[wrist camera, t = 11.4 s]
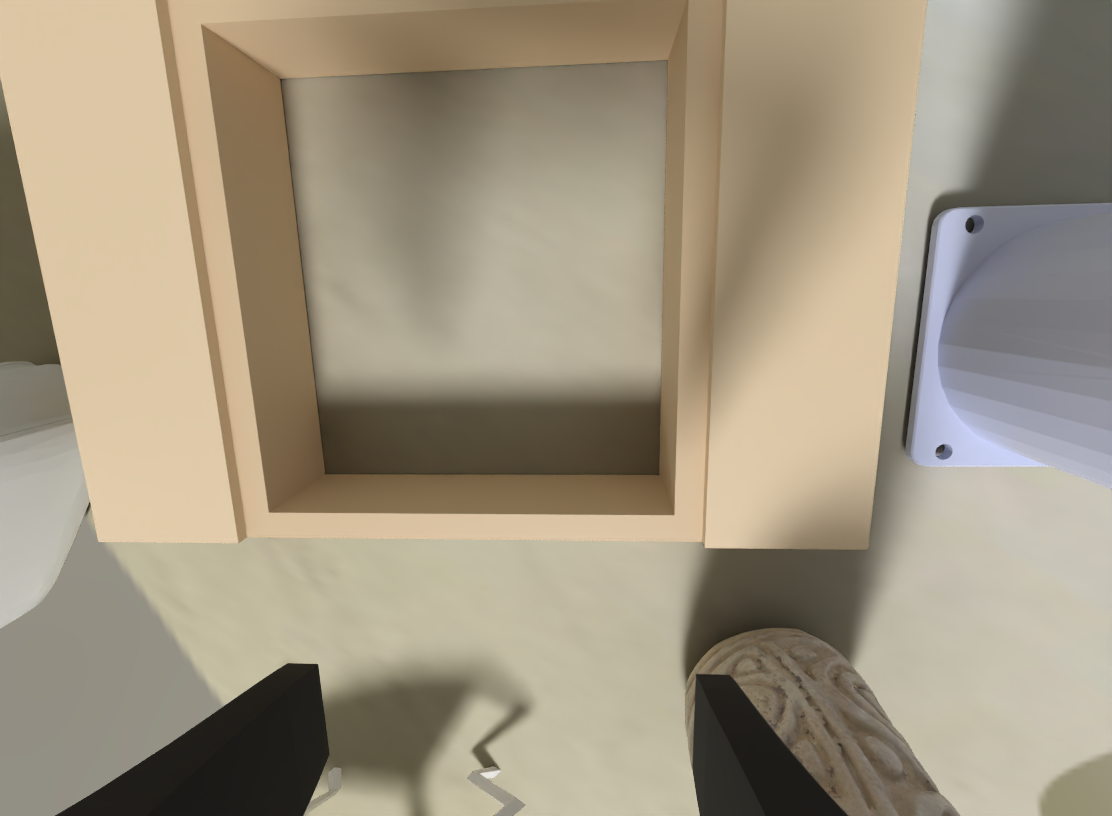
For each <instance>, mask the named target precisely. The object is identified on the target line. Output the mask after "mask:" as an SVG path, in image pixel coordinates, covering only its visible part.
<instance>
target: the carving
mask: <svg viewBox="0 0 1112 816" xmlns="http://www.w3.org/2000/svg"><path fill="white" fill-rule="evenodd" d="M696 674H719V675H730V676H731V677H732V678H733V679H734V680H735V681H736V682H737V684H738V685H739V686H740V688H741V689H742V690H743V691H744V693H745V694H746V695H747V697H748V698H749V699H750V701H751V702H752V703H753V705H754V706H755V707H756V708H757V710H758V711H759V712H760V714H761V715H762V716H763V717H764V719H765V720H766V721H767V722H768V724H769V725H770V726H771V727H772V729H773V730H774V731H775V732H776V734H777V735H778V736H779V737H780V739H781V740H782V741H783V742H784V743H785V745H786V746H787V747H788V748H789V749H790V751H791V752H792V753H793V754H794V755H795V756H796V758H797V759H798V760H799V761H800V762H801V763H802V765H803V766H804V767H805V768H806V769H807V770H808V772H809V773H810V774H811V775H812V776H813V777H814V779H815V780H816V781H817V782H818V783H819V784H820V785H821V786H822V788H823V789H824V790H825V791H826V792H827V793H828V794H829V795H830V796H831V798H832V799H833V800H834V801H835V802H836V803H837V804H838V805H839V806H840V807H841V808H842V809H843V810H844V812H845V813H846V814H847V815H848V816H960V815H959V813H958V812H957V811H956V809H955V808H954V807H953V806H952V804H951V803H950V802H949V801H948V800H947V799H946V798H945V797H944V796H942V795H941V794H940V793H939V791H938V789H937V787H936V785H935V784H934V782H933V781H932V779H931V778H930V776H929V775H928V774H927V772H926V771H925V770H924V768H923V767H922V765H921V764H920V762H919V761H918V760H917V758H916V757H915V756H914V754H913V751H912V750H911V748H910V746H909V745H908V743H907V742H906V740H905V739H904V738H903V736H902V735H901V734H900V733H899V732H898V731H897V730H896V728H894V727H893V725H892V723H891V721H890V720H889V718H888V717H887V715H886V713H885V712H884V710H883V709H882V707H881V706H880V704H879V702H878V701H877V699H876V697H875V695H874V694H873V692H872V691H871V689H870V688H869V686H868V685H867V684H866V683H865V681H864V680H863V679H862V677H861V676H860V675H859V674H858V672H857V671H856V670H855V669H854V668H853V667H852V666H851V665H850V664H849V662H848V661H847V660H846V659H845V657H844V656H843V655H842V654H841V653H840V652H838V651H837V650H836V649H835V648H833V647H832V646H831V645H829V644H828V643H826V642H824V641H822V640H820V639H819V638H817V637H815V636H812V635H810V634H808V633H806V632H804V631H802V630H799V629H793V628H765V629H758V630H752V631H748V632H744V633H741V634H738V635H735V636H732V637H730V638H728V639H726V640H723V641H721V642H719V643H718V644H716V645H715V646H713V647H712V648H711V649H710V650H709V651H708V652H707V653H706V654H705V655H704V656H703V657H702V658H701V659H700V661H699V662H698V663H697V665H696V666H695V667H694V669H693V671H692V673H691V674H690V676H689V679H688V681H687V684H686V693H685V724H686V733H687V738H688V749H689V755H690V761H691V766H692V762H693V736H694V710H695V685H696Z"/></svg>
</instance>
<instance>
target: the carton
mask: <svg viewBox="0 0 1112 816" xmlns="http://www.w3.org/2000/svg"><path fill="white" fill-rule="evenodd" d="M927 1H928V0H0V78H1V83H2V88H3V92H4V97H5V102H6V106H7V111H8V116H9V121H10V125H11V130H12V135H13V140H14V144H15V149H16V154H17V158H18V163H19V168H20V173H21V177H22V182H23V187H24V192H25V196H26V201H27V206H28V211H29V215H30V220H31V225H32V229H33V234H34V239H35V244H36V248H37V253H38V258H39V263H40V267H41V272H42V277H43V281H44V286H45V291H46V296H47V300H48V305H49V310H50V315H51V319H52V324H53V329H54V333H55V338H56V343H57V348H58V352H59V357H60V362H61V367H62V371H63V376H64V381H65V386H66V390H67V395H68V400H69V404H70V409H71V414H72V419H73V423H74V428H75V433H76V438H77V442H78V447H79V452H80V456H81V461H82V466H83V471H84V475H85V480H86V485H87V490H88V494H89V499H90V504H91V509H92V513H93V518H94V523H95V527H96V532H97V537H98V541H99V542H174V543H239V542H241V541H242V540H244V539H245V538H246V537H277V538H379V539H481V540H583V541H686V542H702V543H703V545H704V547H705V548H742V549H837V550H868V545H869V536H870V527H871V518H872V509H873V499H874V490H875V481H876V472H877V462H878V453H879V444H880V435H881V425H882V416H883V407H884V398H885V389H886V379H887V370H888V361H889V352H890V342H891V333H892V324H893V315H894V305H895V296H896V287H897V278H898V268H899V259H900V250H901V241H902V232H903V222H904V213H905V204H906V195H907V185H908V176H909V167H910V158H911V148H912V139H913V130H914V121H915V112H916V102H917V93H918V84H919V75H920V65H921V56H922V47H923V38H924V28H925V19H926V10H927ZM656 60H668V71H667V120H666V168H665V216H664V265H663V313H662V361H661V410H660V458H659V475H427V474H325V468H324V459H323V450H322V441H321V433H320V424H319V415H318V406H317V398H316V389H315V380H314V371H313V362H312V354H311V345H310V336H309V327H308V319H307V310H306V301H305V292H304V284H303V275H302V266H301V257H300V249H299V240H298V231H297V222H296V213H295V205H294V196H293V187H292V178H291V170H290V161H289V152H288V143H287V135H286V126H285V117H284V108H283V100H282V91H281V82H280V79H287V78H307V77H328V76H348V75H369V74H389V73H410V72H430V71H451V70H471V69H492V68H512V67H533V66H554V65H574V64H595V63H615V62H636V61H656Z"/></svg>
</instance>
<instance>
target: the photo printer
mask: <svg viewBox="0 0 1112 816" xmlns="http://www.w3.org/2000/svg"><path fill="white" fill-rule="evenodd" d="M89 502H90V499H89V494H88V490H87V485H86V480H85V475H84V471H83V466H82V461H81V456H80V452H79V447H78V442H77V438H76V433H75V428H74V423H73V419H72V414H71V409H70V404H69V400H68V395H67V390H66V386H65V381H64V376H63V371H62V367H61V365H59V364H45V365H37V366H36V365H34V364H32V363H31V362H28V361H11V362H3V363H0V628H2V627H3V626H5V625H7V624H8V623H10V622H12V621H14V620H15V619H17V618H19V617H20V616H22V615H23V614H25V613H26V612H28V611H29V610H31V609H32V608H34V607H35V606H36V605H37V604H39V603H40V602H41V601H42V600H43V599H44V598H45V596H46V595H47V594H48V593H49V591H50V590H51V588H52V586H53V585H54V583H55V582H56V580H57V578H58V576H59V574H60V572H61V569H62V567H63V565H64V563H65V560H66V558H67V556H68V554H69V551H70V549H71V547H72V544H73V542H74V540H75V537H76V535H77V532H78V529H79V527H80V525H81V522H82V520H83V517H84V515H85V512H86V510H87V507H88V505H89Z"/></svg>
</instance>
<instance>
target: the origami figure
mask: <svg viewBox="0 0 1112 816" xmlns="http://www.w3.org/2000/svg"><path fill="white" fill-rule="evenodd" d="M500 771H501V770H500V769H498V768H497V767H495V766H492V767H488V768H484V769H480V770H476V771H473V772H472V773H471V774H470V775H469V776H468V777H467V779H468V780H469V781H471V782H472V783H474V784H475V785H476V786H478V787H479V788H481V789H482V790H483V791H485V792H486V793H488V794H489V795H490V796H492V797H493V798H495V799H496V800H497V801H499V802H500V803H501V804H503V805H504V807H503V808H502V809H501V810H499V811H498V812H497V813H496V814H495V815H493V816H514V815H515V814H516V813H517V812H518V811H519V810H521V809H522V808H523V807H524V806H525V804H524V803H522V802H521V801H520V800H519V799H517V798H516V797H515V796H513V795H512V794H510V793H508V792H507V791H505V790H504V789H502V788H501V787H499V786H498V785H496V784H495V783H493V782H492V781H490V780H489V779H487V778H493V777H495V776H496V775H497V774H498V773H499V772H500ZM328 785H329V791H328V792H326V793H325V794H323V795H321V796H319V797H317V798H316V799H314V800H312V801H310V802H309V804H308V807H307V809H306V811H305V813H304V815H306V814H307V813H309V812H310V811H312V810H313V809H315V808H316V807H317V806H319V805H320V804H322V803H323V802H325V801H326V800H328V799H329V798H331V797H332V796H334V795H335V794H336V793H337V792H338V790H339V789H340V788H341V768H336V767H334V768H333V769H332V770H331V771H330V772H329V773H328ZM304 815H303V816H304Z"/></svg>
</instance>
